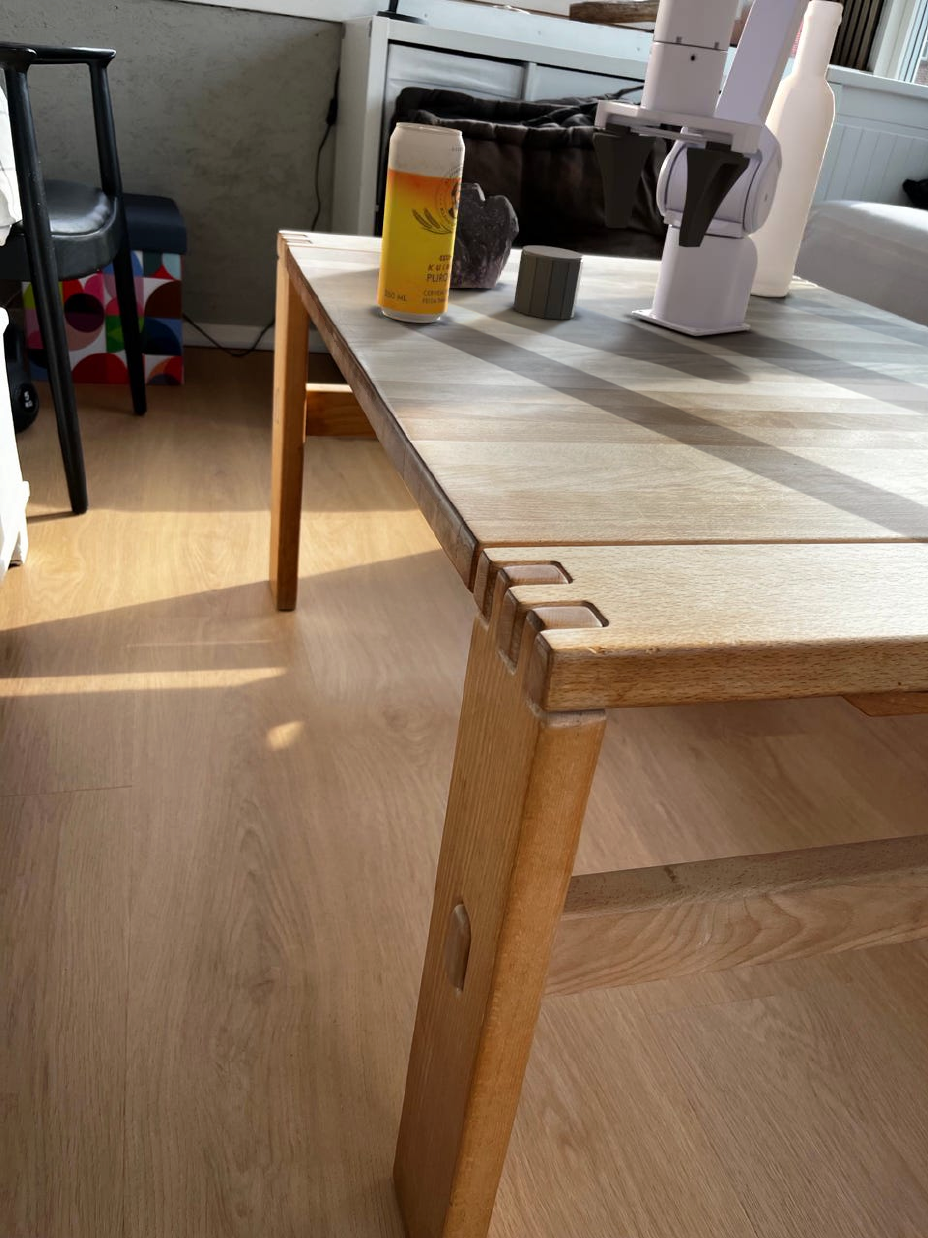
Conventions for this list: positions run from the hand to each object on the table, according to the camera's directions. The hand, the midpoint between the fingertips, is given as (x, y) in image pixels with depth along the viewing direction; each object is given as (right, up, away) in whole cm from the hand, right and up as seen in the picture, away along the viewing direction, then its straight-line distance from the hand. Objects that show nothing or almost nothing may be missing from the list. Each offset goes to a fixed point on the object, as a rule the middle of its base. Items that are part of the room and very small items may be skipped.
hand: (651, 236), depth 84 cm
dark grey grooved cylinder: (-8, -2, +14) cm, 16 cm away
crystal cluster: (-18, +4, +23) cm, 29 cm away
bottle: (+20, +8, +40) cm, 45 cm away
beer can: (-20, -5, +6) cm, 21 cm away
